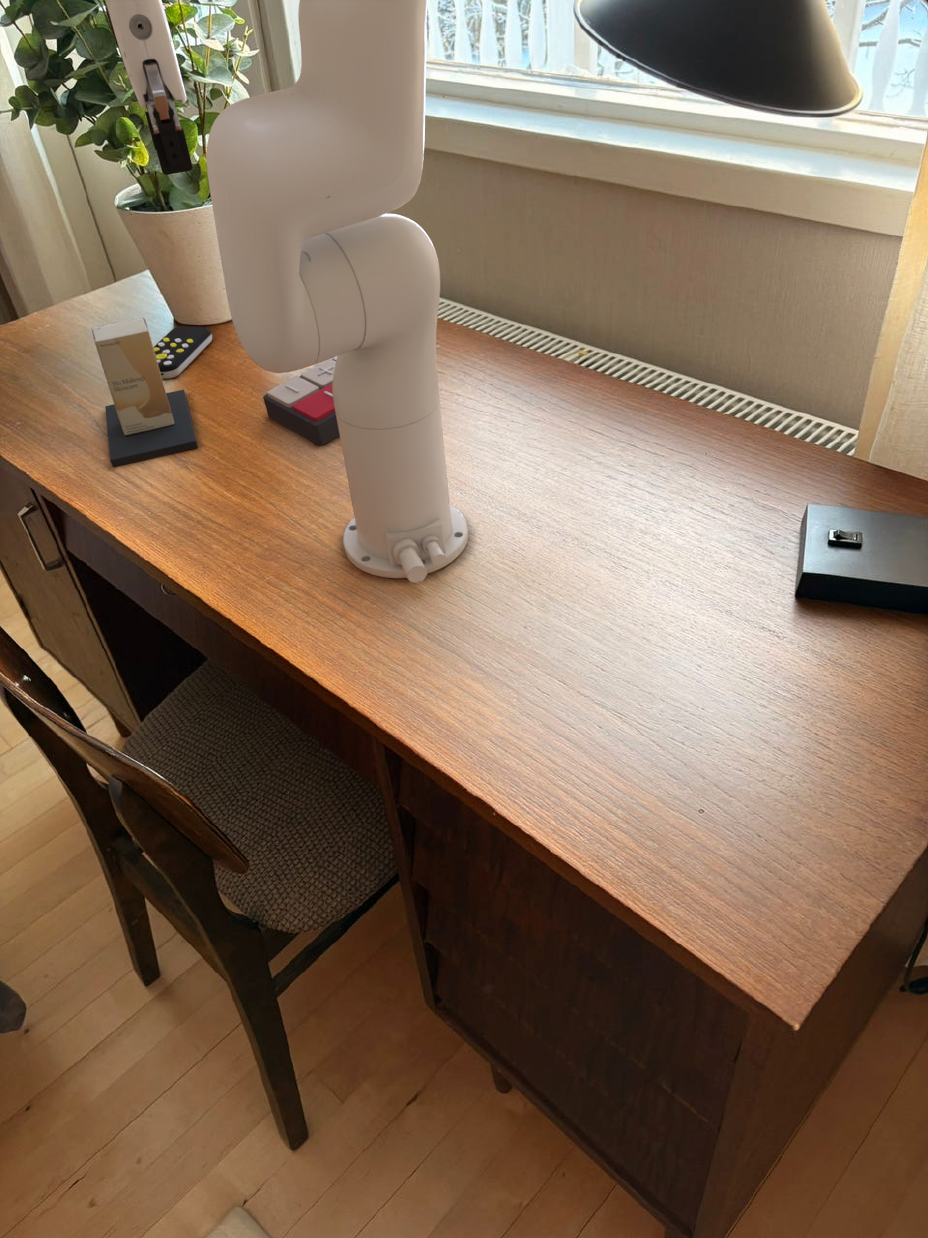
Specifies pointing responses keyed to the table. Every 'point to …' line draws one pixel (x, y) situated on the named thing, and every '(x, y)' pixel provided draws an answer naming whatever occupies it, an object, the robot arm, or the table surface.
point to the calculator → (306, 404)
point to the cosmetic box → (133, 375)
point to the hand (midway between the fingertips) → (173, 159)
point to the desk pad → (151, 435)
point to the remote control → (180, 349)
